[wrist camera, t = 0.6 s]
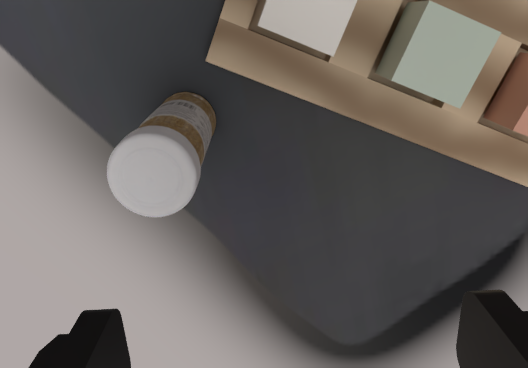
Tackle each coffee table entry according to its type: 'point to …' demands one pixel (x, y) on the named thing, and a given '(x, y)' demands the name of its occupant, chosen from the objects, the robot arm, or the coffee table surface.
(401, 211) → the coffee table surface
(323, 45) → the cream button
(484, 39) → the sage button
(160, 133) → the sprinkles bottle
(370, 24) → the wooden slotted tray
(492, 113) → the terracotta button
